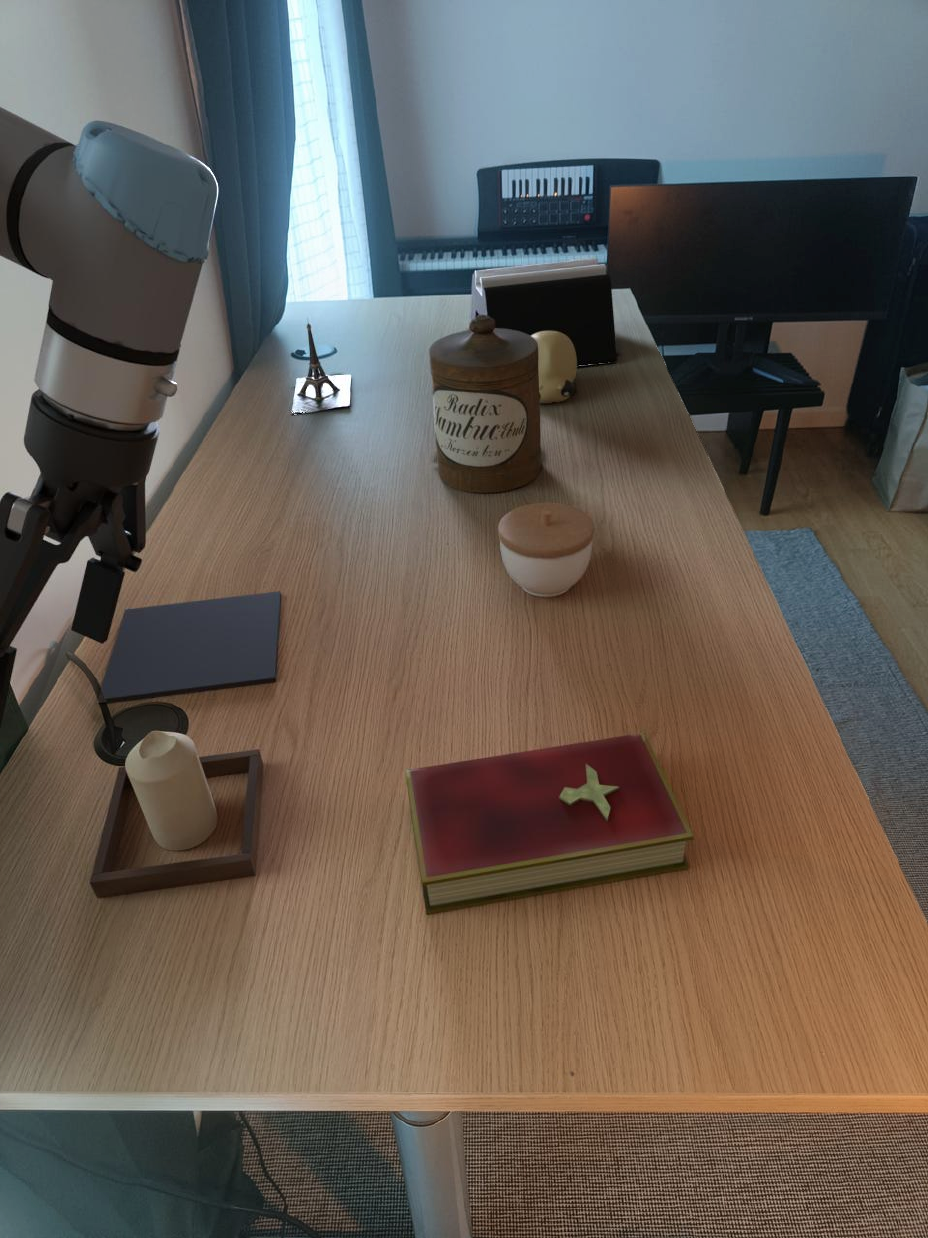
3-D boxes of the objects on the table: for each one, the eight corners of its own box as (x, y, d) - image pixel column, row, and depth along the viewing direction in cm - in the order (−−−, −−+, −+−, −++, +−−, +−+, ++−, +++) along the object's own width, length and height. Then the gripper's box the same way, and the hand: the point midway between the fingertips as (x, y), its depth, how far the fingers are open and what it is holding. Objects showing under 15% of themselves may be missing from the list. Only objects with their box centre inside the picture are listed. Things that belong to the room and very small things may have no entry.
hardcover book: (408, 798, 76) (404, 764, 74) (639, 761, 78) (643, 726, 76) (426, 914, 67) (421, 880, 64) (688, 868, 69) (694, 833, 66)
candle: (151, 813, 76) (117, 730, 71) (214, 794, 78) (186, 711, 72) (156, 860, 72) (121, 777, 66) (222, 839, 74) (194, 756, 68)
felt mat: (98, 704, 89) (96, 700, 88) (126, 613, 101) (125, 609, 101) (276, 681, 90) (275, 677, 90) (281, 594, 103) (280, 590, 102)
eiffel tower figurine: (351, 409, 146) (340, 329, 138) (290, 414, 146) (276, 335, 138) (351, 376, 158) (341, 301, 150) (295, 381, 158) (282, 306, 150)
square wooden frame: (96, 898, 70) (89, 882, 68) (124, 782, 80) (118, 767, 78) (255, 875, 71) (250, 859, 69) (263, 764, 81) (259, 748, 79)
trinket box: (590, 611, 97) (592, 539, 91) (494, 606, 99) (491, 535, 93) (593, 559, 105) (596, 490, 100) (505, 555, 107) (504, 487, 101)
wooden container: (424, 488, 122) (409, 332, 109) (455, 443, 133) (446, 296, 120) (526, 499, 118) (524, 338, 105) (550, 451, 129) (551, 300, 116)
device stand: (470, 338, 172) (466, 258, 163) (580, 325, 174) (582, 246, 165) (494, 378, 154) (491, 291, 145) (616, 364, 156) (621, 277, 147)
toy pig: (520, 416, 149) (520, 394, 138) (515, 348, 150) (515, 322, 139) (578, 411, 148) (582, 389, 138) (573, 343, 149) (577, 316, 139)
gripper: (37, 482, 43) (-26, 796, 52) (232, 395, 65) (165, 625, 75) (-105, 418, 43) (-143, 745, 52) (140, 353, 65) (84, 589, 74)
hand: (38, 675), depth 63 cm, fingers open, 13 cm apart
